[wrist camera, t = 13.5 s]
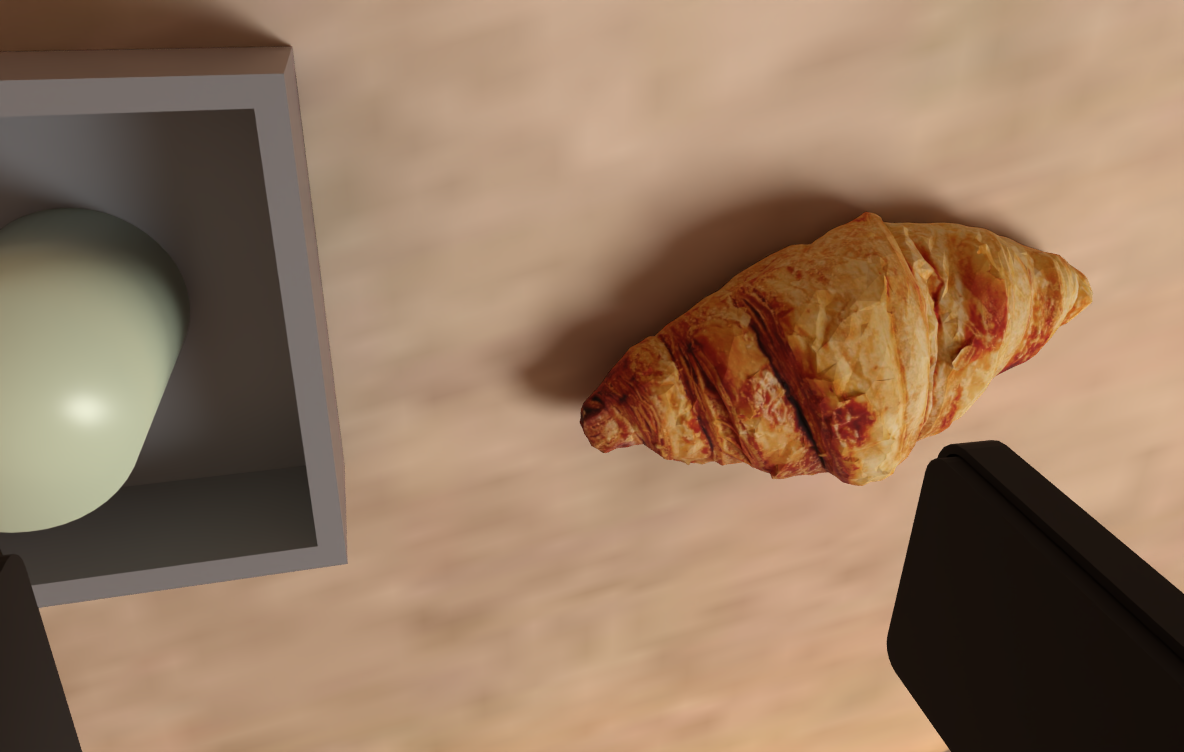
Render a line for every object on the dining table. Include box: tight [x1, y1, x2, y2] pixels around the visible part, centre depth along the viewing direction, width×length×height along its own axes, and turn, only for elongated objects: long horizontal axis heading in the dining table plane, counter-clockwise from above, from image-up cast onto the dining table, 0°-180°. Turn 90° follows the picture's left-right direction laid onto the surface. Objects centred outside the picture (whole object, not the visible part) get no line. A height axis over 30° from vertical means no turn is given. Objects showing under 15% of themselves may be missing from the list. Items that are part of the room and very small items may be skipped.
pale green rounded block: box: [0, 208, 190, 533], centre depth 25 cm, size 6×6×8 cm
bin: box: [0, 46, 348, 608], centre depth 27 cm, size 15×15×6 cm
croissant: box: [580, 212, 1093, 486], centre depth 35 cm, size 21×10×8 cm, turn 100°
